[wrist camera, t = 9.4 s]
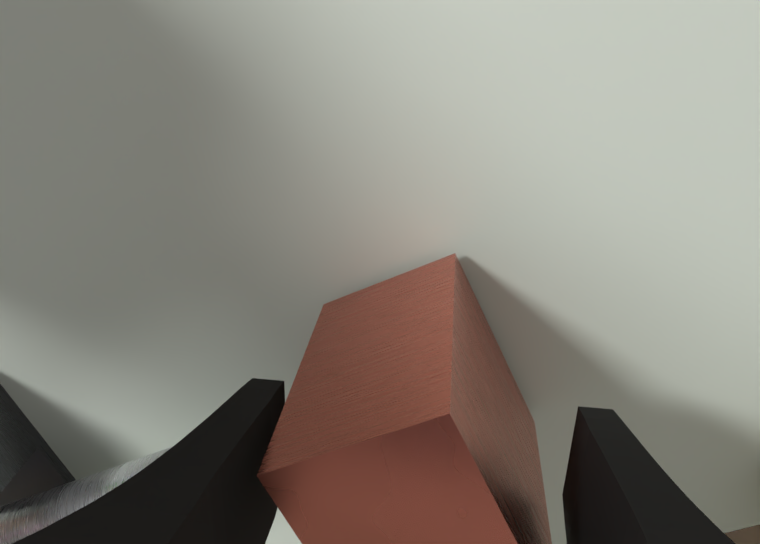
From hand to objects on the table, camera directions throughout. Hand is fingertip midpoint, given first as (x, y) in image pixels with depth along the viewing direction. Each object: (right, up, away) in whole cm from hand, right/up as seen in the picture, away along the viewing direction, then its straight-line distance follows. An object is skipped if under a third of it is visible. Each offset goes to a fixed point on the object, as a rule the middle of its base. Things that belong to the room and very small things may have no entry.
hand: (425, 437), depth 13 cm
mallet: (-6, -1, +4) cm, 7 cm away
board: (-4, +2, +4) cm, 6 cm away
